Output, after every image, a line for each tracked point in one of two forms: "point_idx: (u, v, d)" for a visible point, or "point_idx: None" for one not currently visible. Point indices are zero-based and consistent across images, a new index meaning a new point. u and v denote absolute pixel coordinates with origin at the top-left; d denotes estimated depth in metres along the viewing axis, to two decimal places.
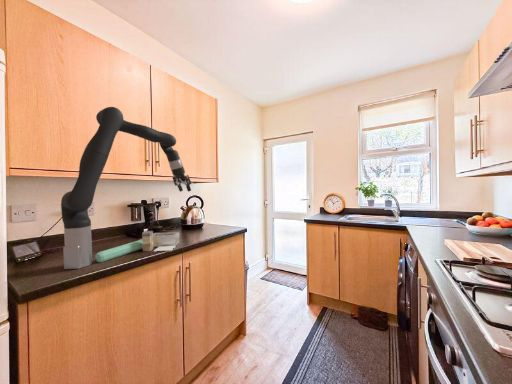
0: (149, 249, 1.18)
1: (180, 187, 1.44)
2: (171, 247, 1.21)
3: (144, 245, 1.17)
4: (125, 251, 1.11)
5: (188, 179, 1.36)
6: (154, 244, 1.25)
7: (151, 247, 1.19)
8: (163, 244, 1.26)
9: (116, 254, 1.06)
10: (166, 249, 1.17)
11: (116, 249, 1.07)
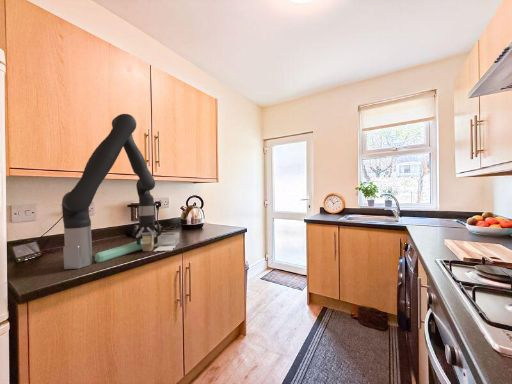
0: (149, 249, 1.18)
1: (139, 239, 1.18)
2: (171, 247, 1.21)
3: (144, 245, 1.17)
4: (125, 251, 1.11)
5: (160, 229, 1.19)
6: (154, 244, 1.25)
7: (151, 247, 1.19)
8: (163, 244, 1.26)
9: (116, 254, 1.07)
10: (166, 249, 1.17)
11: (116, 249, 1.07)
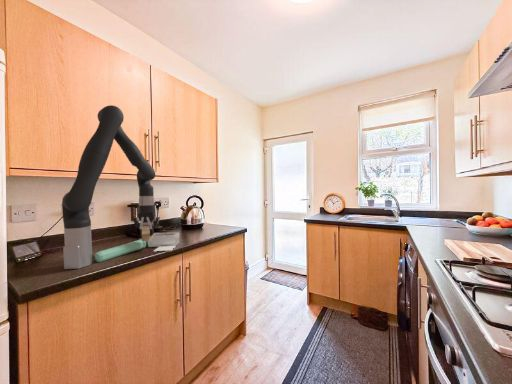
0: (148, 239, 1.18)
1: None
2: (171, 247, 1.21)
3: (143, 235, 1.17)
4: (124, 251, 1.11)
5: (158, 222, 1.20)
6: (154, 244, 1.25)
7: (150, 237, 1.19)
8: (163, 244, 1.26)
9: (115, 254, 1.07)
10: (166, 249, 1.17)
11: (115, 249, 1.08)
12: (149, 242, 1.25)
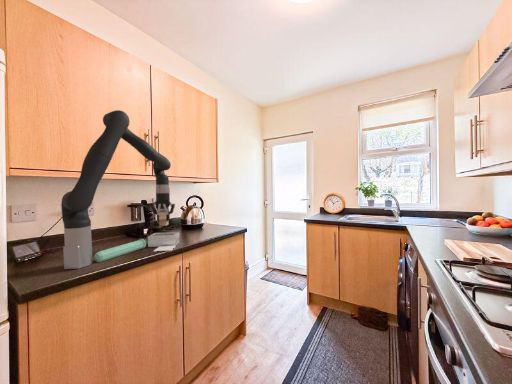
0: (165, 224, 1.29)
1: None
2: (171, 247, 1.21)
3: (161, 220, 1.29)
4: (124, 251, 1.11)
5: (173, 208, 1.31)
6: (154, 244, 1.25)
7: (167, 222, 1.31)
8: (163, 244, 1.26)
9: (115, 254, 1.07)
10: (166, 249, 1.17)
11: (115, 249, 1.08)
12: (149, 242, 1.25)
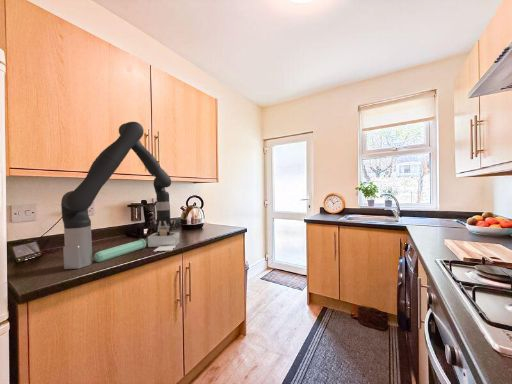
0: None
1: None
2: (171, 247, 1.21)
3: None
4: (124, 251, 1.11)
5: None
6: (154, 244, 1.25)
7: None
8: (163, 244, 1.26)
9: (115, 254, 1.07)
10: (166, 249, 1.17)
11: (115, 249, 1.08)
12: (149, 242, 1.25)
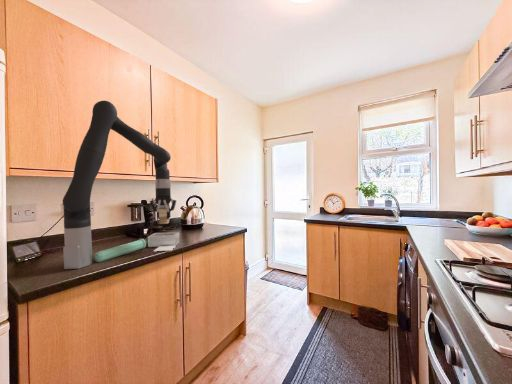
0: (165, 222, 1.18)
1: None
2: (171, 247, 1.21)
3: (161, 218, 1.18)
4: (124, 251, 1.11)
5: (174, 205, 1.20)
6: (154, 244, 1.25)
7: (167, 220, 1.20)
8: (163, 244, 1.26)
9: (115, 254, 1.07)
10: (166, 249, 1.17)
11: (115, 249, 1.08)
12: (149, 242, 1.25)
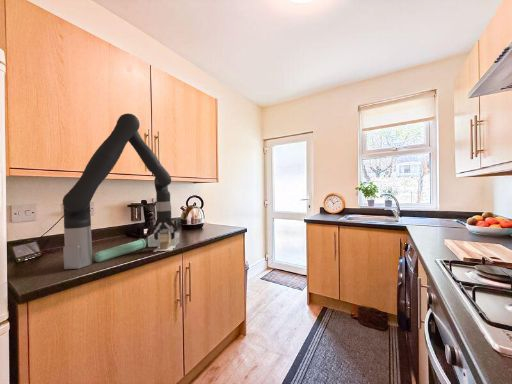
0: (166, 247, 1.19)
1: (157, 234, 1.20)
2: (171, 247, 1.21)
3: (161, 243, 1.18)
4: (124, 251, 1.11)
5: (177, 224, 1.20)
6: (154, 244, 1.25)
7: (168, 245, 1.20)
8: None
9: (115, 254, 1.07)
10: (166, 249, 1.17)
11: (115, 249, 1.08)
12: (149, 242, 1.25)
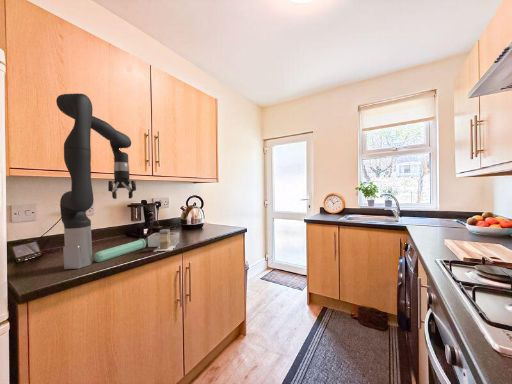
0: (166, 247, 1.19)
1: (115, 194, 1.26)
2: (171, 247, 1.21)
3: (161, 243, 1.18)
4: (124, 251, 1.11)
5: (134, 185, 1.27)
6: (154, 244, 1.25)
7: (168, 245, 1.20)
8: None
9: (115, 254, 1.07)
10: (166, 249, 1.17)
11: (115, 249, 1.08)
12: (149, 242, 1.25)
